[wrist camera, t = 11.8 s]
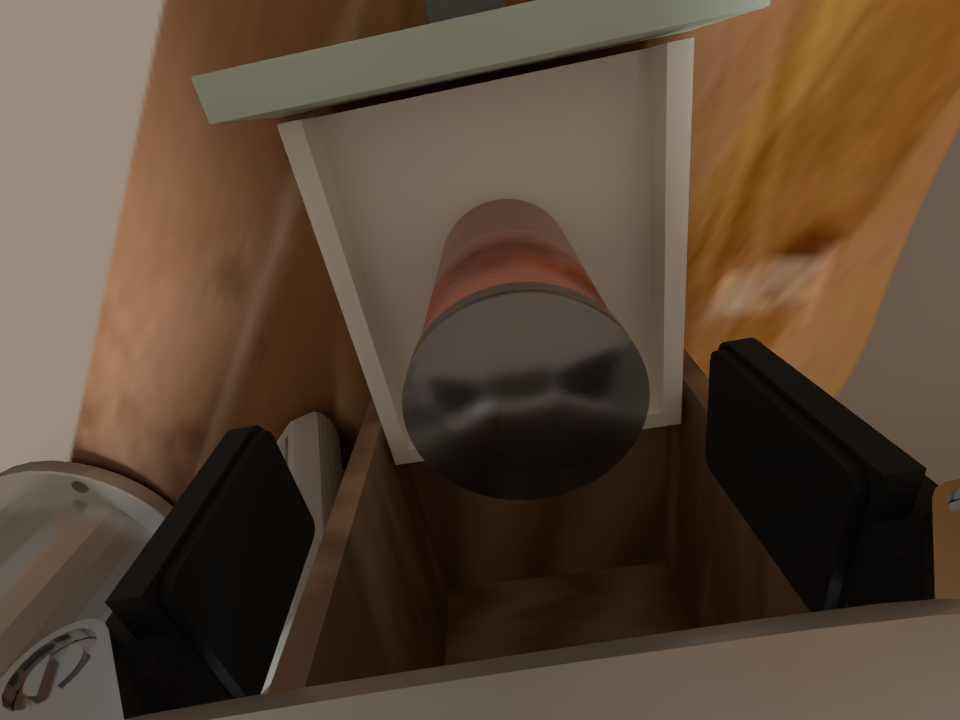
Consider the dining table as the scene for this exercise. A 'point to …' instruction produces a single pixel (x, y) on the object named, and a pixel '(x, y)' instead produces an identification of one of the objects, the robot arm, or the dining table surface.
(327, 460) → the digital clock
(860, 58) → the dining table surface
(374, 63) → the green drawer
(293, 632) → the drawer cabinet
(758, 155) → the dining table surface
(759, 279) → the dining table surface
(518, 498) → the tea tin
